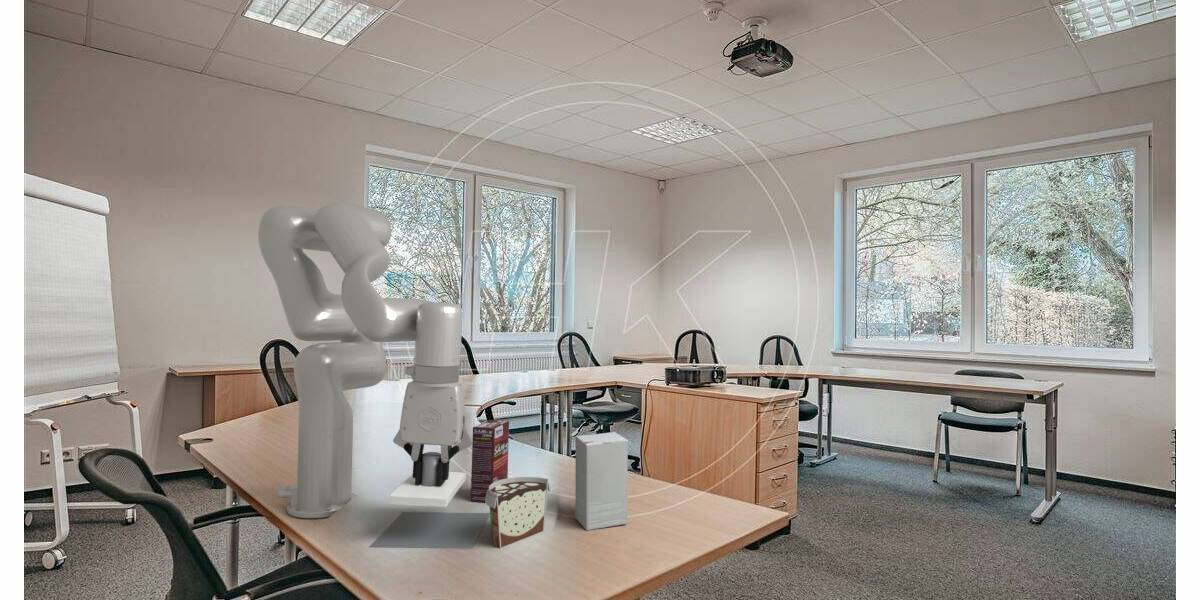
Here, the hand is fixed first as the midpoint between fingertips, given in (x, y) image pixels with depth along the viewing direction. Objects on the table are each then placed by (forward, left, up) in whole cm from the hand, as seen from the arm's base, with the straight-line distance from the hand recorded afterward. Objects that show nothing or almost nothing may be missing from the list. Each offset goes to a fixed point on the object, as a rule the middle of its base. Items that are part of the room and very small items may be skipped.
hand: (430, 482), depth 100 cm
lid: (0, 0, -2) cm, 2 cm away
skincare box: (+29, +7, -9) cm, 31 cm away
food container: (+14, -3, -9) cm, 17 cm away
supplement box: (+7, +17, -9) cm, 21 cm away
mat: (+1, -1, -9) cm, 9 cm away
